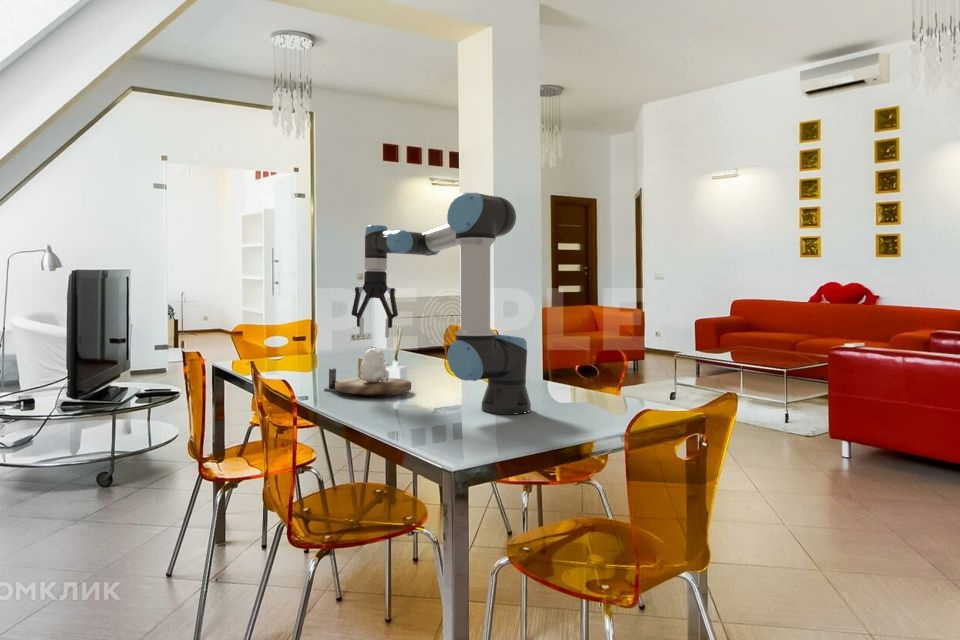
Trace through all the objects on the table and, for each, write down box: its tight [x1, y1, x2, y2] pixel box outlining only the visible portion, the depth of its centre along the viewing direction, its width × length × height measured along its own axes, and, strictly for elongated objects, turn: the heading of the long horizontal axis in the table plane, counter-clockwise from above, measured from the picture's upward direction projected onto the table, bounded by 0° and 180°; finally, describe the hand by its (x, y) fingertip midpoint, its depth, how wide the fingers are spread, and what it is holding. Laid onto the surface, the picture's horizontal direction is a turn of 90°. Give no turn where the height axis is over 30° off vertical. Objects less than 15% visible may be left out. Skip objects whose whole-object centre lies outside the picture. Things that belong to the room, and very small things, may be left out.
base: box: [323, 368, 389, 397], centre depth 237 cm, size 24×14×8 cm, turn 85°
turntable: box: [335, 356, 412, 395], centre depth 236 cm, size 26×27×9 cm
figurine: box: [360, 347, 390, 383], centre depth 236 cm, size 10×10×12 cm
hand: (374, 336), depth 235 cm, fingers open, 8 cm apart
